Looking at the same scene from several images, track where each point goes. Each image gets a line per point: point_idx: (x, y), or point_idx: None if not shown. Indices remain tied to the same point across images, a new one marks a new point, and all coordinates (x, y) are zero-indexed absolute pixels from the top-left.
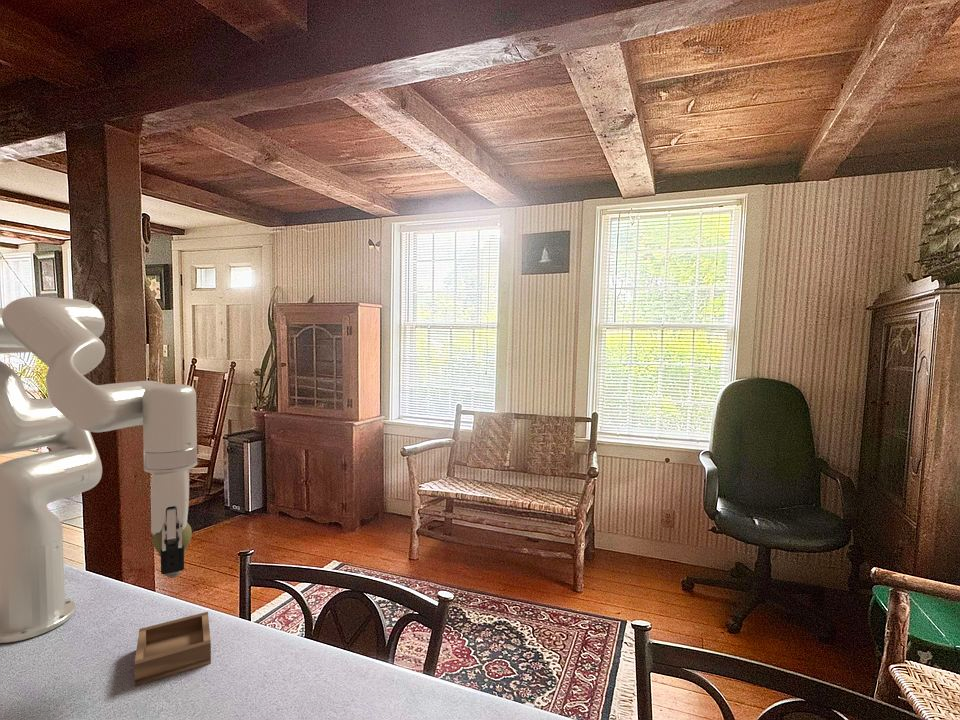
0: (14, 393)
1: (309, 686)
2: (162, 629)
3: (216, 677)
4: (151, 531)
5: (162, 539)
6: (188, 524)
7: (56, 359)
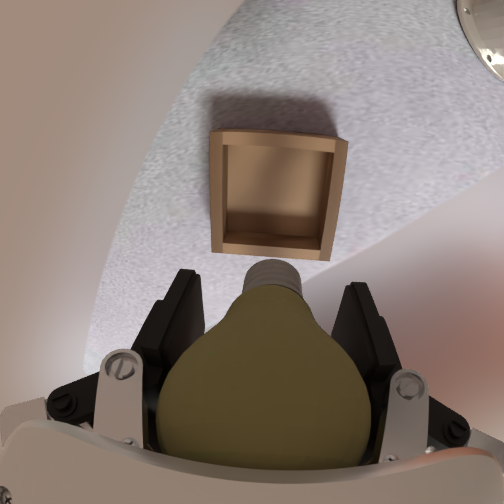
0: None
1: (126, 313)
2: (329, 180)
3: (179, 237)
4: (14, 432)
5: (98, 409)
6: None
7: None
